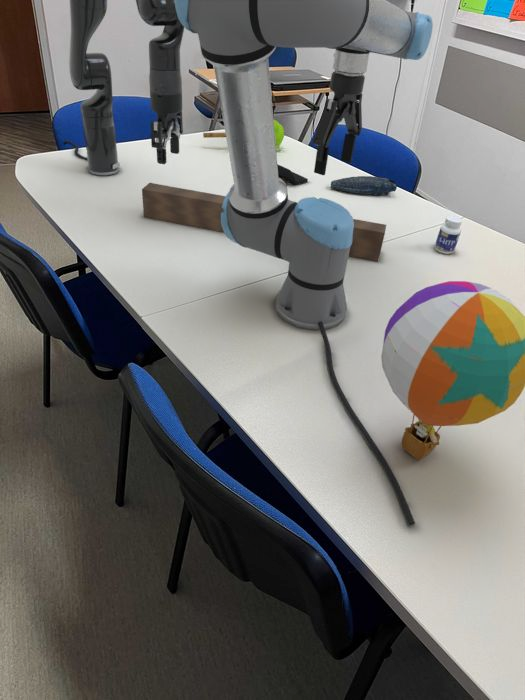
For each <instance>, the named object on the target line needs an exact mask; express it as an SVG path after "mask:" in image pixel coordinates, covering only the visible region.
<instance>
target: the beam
mask: <svg viewBox="0 0 525 700" xmlns="http://www.w3.org/2000/svg"><path fill="white" fill-rule="evenodd" d="M141 197H142V209H143V210H142V211H143V218H147V219H150V220H151V219H152V220H157V221H161V222H162V221H163V222H167V223H173V224H179V225H184V226H188V227H189V226H190V227H194V228H199V229H204V230H210V231H216V232H220V233H224V231H223V228H222V224H221V213H222V212H223V208H222V205H223V201H224V199H225V197H226V195H222V194H221V195H220V194H214V193H210V192H204V191H199V190H194V189H187V188H181V187H177V186H176V187H175V186H170V185H165V184H159V183H153V182H149V183H147V184H146V185H145V186H143V188H141ZM353 221H354V228H353V241H352V244H351V247H350V252H349V257H351V258H352V257H353V258H358V259H363V260H369V261H374V262H379V260H380V255H381V251H382V247H383V243H384V238H385V235H386V231H387V224H385V223H379V222H373V221H367V220H361V219H355V218H353Z"/></svg>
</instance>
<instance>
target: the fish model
mask: <svg viewBox="0 0 525 700" xmlns="http://www.w3.org/2000/svg"><path fill="white" fill-rule="evenodd" d="M395 183H396V180H394V179H390V178H387V177H381V176H380V177H379V176H370V175H369V176H368V175H367V176H366V175H360V176H359V175H358V176H349V177H344V178H343V177H342V178H337V179H334V180H331V182H330V188H331V189H334V190H337V191H341V192H346V193H351V194H360V195H373V196H374V195H375V196H380V195H382V194H384V195H387V196H388V195H389V194H390V193H392V192H396V191H397V188H398V187H397V185H396V184H395Z"/></svg>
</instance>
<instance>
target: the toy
mask: <svg viewBox="0 0 525 700" xmlns="http://www.w3.org/2000/svg"><path fill="white" fill-rule="evenodd" d="M380 357H381V358H380V359H381V367H382V370H383V372H384V375H385V377H386V379H387V381H388V384H389V386H390V388H391V390H392V393H393V394H394V395H395V397H396V398H397V399H398V400H399V401H400V402H401V403H402V405H403V406H404V407H405V408H407V410H408V411H409V412H410V413H412V414H413V415H412V422H411V424H410V427H409V426H407V427H405V428H404V432H403V435H402V437H401V442H400V445H401V446H400V447H401V448H402V450H404V451H406V453H408V454H409V455H410V456H412V457H413V458H414V459H416V460H417V461H421V460H423V459H425V458H426V457H427V456H428V455H429V454H430V453H432V452H433V451H434V450H435V448H436V447H437V446H439V445H440V442H439V441H440V439H441V434H439V431H440V429H441V428H442V427H456V426H467V425H476V424H479V423H482V422H484V421H486V420H488V419H490V418H492V417H495V416H497V415H498V414H501V413H503V412H505V411H507V410H508V409H509V408H510V407H511V406H513V405H514V404H515V403H516V402H517V400H518V399H519V397H520V396H521V394H522V393H523V391H524V390H525V315H524V314H523V313H522V312H521V310H519V308H518V307H517V306H516V305H515V303H514V302H513V301H511V299H510V298H509V297H507V296H506V295H504V294H503V293H501V292H499V291H498V290H496V289H494V288H493V287H489V286H487V285H484V284H481V283H476V282H472V281H465V280H454V281H453V280H449V281H445V282H441V283H437V284H433V285H429V286H426V287H423V288H422V289H419V290H418V291H416V292H415V293H414V294H412V295H411V296H410V297H409V298H408V299H407V300H405V302H404V303H403V304H401V305H400V306H399V307H398V308H397V309H396V310H395V312H394V313H393V314H392V316H391V317H390V318H389V320H388V322H387V325H386V328H385V330H384V335H383V343H382V349H381V355H380ZM415 417H416V418H417V419H418V421H416V422H415V423H414V420H415ZM434 427H438V429H436V431H435V428H434Z"/></svg>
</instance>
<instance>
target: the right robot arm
mask: <svg viewBox="0 0 525 700" xmlns="http://www.w3.org/2000/svg"><path fill="white" fill-rule="evenodd" d="M175 7H176V12H177V16H178V18H179V20H180V22H181V24H182V25H183V26H185V28H184V29H186V30H187V31H189V32H190V33H192V34H197V36H198V42H199V46H200V52H201V56H202V58H203V59H204V60H205V61H206V62H208V63H209V64H211V65H212V66H213V68H214V73H215V74H214V76H215V80H216V81H215V82H216V87H217V92H218V97H219V103H220V109H221V115H222V120H223V121H222V122H223V127H224V133H226V137H225V139H226V143H227V150H228V156H229V162H230V168H231V173H232V179H233V184H232V185H231V186H230V188H229V191H228V192H227V193H226V195H225V196H226V197H225V199H224V201H223V205H222V208H223V212H222V213H221V224H222V228H223V231H224V232H223V233H224V235H225V237H227V239H229V240H230V241H231V242H234V243H235V244H238V245H239V246H241V247H243V248H247V249H250V250H253V251H256V252H259V253H262V254H265V255H268V256H271V257H273V258H277V259H280V260H283V261H285V262H288V263H289V264H288V270H287V271H288V272H287V275H286V278H285V279H284V282H283V283H282V285H281V287H280V290H279V291H278V294H277V296H276V301H275V311H276V313H277V315H278V316H279V317H280V318H281V319H282V320H283V321H284V322H286V323H287V324H289V325H291V326H293V327H296V328H300V329H304V330H310V331H320V334H321V337H322V341H323V344H324V348H325V354H326V365H327V370H328V374H329V377H330V380H331V382H332V385H333V387H334V390H335V391H336V394H337V395H338V398H339V399H340V401H341V403H342V404H343V407H344V408H345V410H346V411H347V413H348V415H349V416H350V418H351V419H352V421H353V422H354V424H355V425H356V427H357V428H358V431H360V433H361V434H362V437H363V438H364V439H365V441H366V442H367V444H368V446H369V447H370V449H371V451H372V452H373V453H374V455H375V457H376V458H377V460H378V462H379V463H380V465H381V466H382V468H383V470H384V472H385V474H386V475H387V477H388V479H389V481H390V483H391V485H392V488H393V490H394V492H395V494H396V497H397V499H398V502H399V505H400V507H401V509H402V512H403V515H404V517H405V520H406V522H407V524H408V526H415V524H416V522H415V519H414V517H413V514H412V512H411V510H410V507H409V504H408V502H407V500H406V497H405V495H404V492H403V490H402V488H401V486H400V484H399V481H398V479H397V477H396V475H395V474H394V471H393V470H392V469H391V466H390V465H389V463H388V462H387V459H386V458H385V456H384V455H383V454H382V452H381V450H380V449H379V447H378V446H377V444H376V443H375V441H374V439H373V438H372V436H371V434H370V433H369V432H368V430H367V429H366V427H365V426H364V424H363V423H362V422H361V420H360V418H359V417H358V415H357V414H356V413H355V411H354V410H353V408H352V406H351V404H350V403H349V400H348V398H347V397H346V395H345V393H344V392H343V389H342V388H341V385H340V384H339V381H338V379H337V375H336V373H335V370H334V365H333V355H332V349H331V344H330V341H329V337H328V335H327V331H326V330H329V329H333V328H336V327H337V326H339V325H340V324H342V323H343V322H344V320H345V318H346V315H347V310H348V309H347V308H348V307H347V306H348V305H347V297H346V292H345V286H344V280H345V275H346V271H347V267H348V261H349V257H350V256H349V252H350V247H351V244H352V241H353V228H354V221H353V219H354V218H353V215H352V214H351V212H349V210H348V209H346V208H345V206H343V205H341V204H339V203H338V202H335V201H333V200H330V199H327V198H324V197H319V198H318V197H315V196H311V197H310V196H308V197H304V198H301V199H300V200H298V201H297V202H296V201H293V200H290V199H289V194H288V192H289V191H288V186H287V184H286V182H285V180H284V179H281V178H279V177H278V166H277V164H278V157H277V148H276V142H275V131H274V120H275V119H274V109H273V108H274V107H273V98H272V97H273V96H272V85H271V75H270V64H269V57H271V55H272V54H273V53H274V52H275V50H276V48H277V47H278V48H288V49H289V48H290V49H300V48H301V49H302V48H303V49H304V48H305V49H306V48H308V49H309V48H310V49H311V48H323V49H324V48H326V49H330V50H335V52H334V53H333V65H332V69H333V70H334V71H333V72H332V73H331V76H330V83H329V89H330V91H331V92H333V93H334V94H333V98H332V99H331V98H326V99H325V102H324V106H323V107H324V108H323V111H322V113H321V117H320V120H319V123H318V125H317V128H316V131H315V134H314V136H313V140H312V144H313V145H315V146H317V147H316V154H315V155H316V156H315V162H314V169H313V173H314V174H318V175H320V176H325V175H326V171H327V164H328V160H329V159H328V158H329V153H330V152H329V151H330V146H329V144H330V142H331V139H332V138H333V135H334V133H335V132H336V129H337V127H338V125H339V123H340V122H342V121H343V120H344V124H345V127H346V132H347V133H345V134H344V138H343V139H344V140H343V145H342V151H341V156H340V161H342V162H346V163H349V164H350V163H352V161H353V155H354V151H355V144H356V139H357V136H358V137H360V136H361V135H362V130H363V116H362V115H363V113H362V112H363V111H362V101H363V91H364V85H365V79H366V77H365V75H364V74H366V73H367V70H368V63H369V58H370V54H371V53H372V54H376V55H377V54H378V55H383V56H388V57H393V58H397V59H403V60H412V61H419V60H421V59H422V58H423V57H424V56H425V54H426V53H427V50H428V48H429V45H430V42H431V39H432V34H433V22H434V21H433V18H432V16H431V15H429V14H424V13H420V12H419V11H416V12H413V11H407V10H405V9H403V8H401V7H399V6H397V5H396V4H393V3H391V2H389V1H388V0H175Z"/></svg>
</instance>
